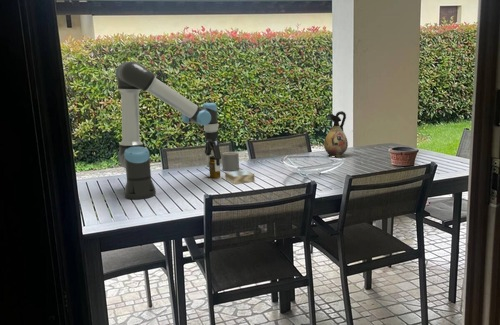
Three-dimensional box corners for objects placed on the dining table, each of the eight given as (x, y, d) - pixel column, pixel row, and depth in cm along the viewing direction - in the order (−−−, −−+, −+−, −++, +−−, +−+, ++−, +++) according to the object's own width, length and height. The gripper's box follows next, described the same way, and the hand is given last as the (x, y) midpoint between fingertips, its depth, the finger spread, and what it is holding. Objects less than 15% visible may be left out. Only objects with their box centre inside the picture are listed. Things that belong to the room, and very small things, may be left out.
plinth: (233, 184, 239) (233, 176, 238) (225, 179, 250) (225, 172, 249) (254, 181, 244) (254, 173, 243) (245, 176, 254) (245, 169, 253)
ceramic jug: (329, 159, 294) (329, 113, 287) (320, 154, 308) (320, 110, 302) (353, 157, 297) (354, 111, 291) (344, 153, 312) (344, 109, 305)
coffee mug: (241, 170, 270) (240, 153, 268) (225, 172, 267) (224, 155, 265) (234, 166, 283) (233, 150, 281) (218, 167, 279) (218, 151, 277)
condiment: (223, 177, 254) (222, 156, 252) (210, 180, 250) (209, 158, 247) (217, 175, 260) (216, 154, 258) (204, 177, 256) (202, 156, 253)
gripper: (226, 133, 240) (228, 172, 244) (210, 128, 262) (212, 163, 267) (212, 134, 237) (214, 174, 241) (197, 129, 259) (200, 165, 264)
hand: (213, 168), depth 254 cm, fingers open, 13 cm apart
